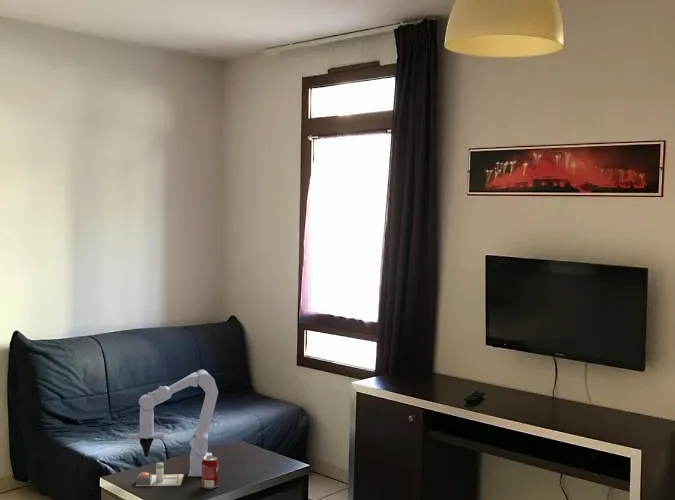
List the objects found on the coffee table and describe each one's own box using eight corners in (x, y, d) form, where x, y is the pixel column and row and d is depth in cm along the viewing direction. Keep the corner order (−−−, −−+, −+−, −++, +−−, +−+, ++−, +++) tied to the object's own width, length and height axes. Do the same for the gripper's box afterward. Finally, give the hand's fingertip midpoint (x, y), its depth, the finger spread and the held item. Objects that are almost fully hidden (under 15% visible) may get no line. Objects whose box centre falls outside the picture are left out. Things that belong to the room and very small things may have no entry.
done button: (149, 480, 316) (149, 472, 316) (148, 483, 312) (148, 475, 312) (140, 480, 315) (140, 472, 315) (139, 483, 312) (139, 475, 312)
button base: (151, 480, 317) (151, 473, 317) (149, 485, 312) (149, 478, 311) (139, 481, 316) (139, 473, 316) (136, 485, 311) (137, 478, 311)
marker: (163, 480, 318) (163, 462, 317) (163, 482, 315) (163, 464, 314) (156, 480, 317) (156, 462, 317) (155, 483, 314) (155, 465, 314)
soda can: (214, 490, 308) (214, 461, 307) (198, 488, 309) (199, 459, 309) (220, 484, 314) (220, 456, 314) (205, 483, 316) (205, 454, 315)
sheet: (183, 474, 325) (183, 474, 325) (180, 485, 312) (180, 484, 312) (141, 475, 323) (140, 474, 323) (135, 486, 311) (135, 485, 311)
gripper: (165, 421, 323) (165, 452, 323) (130, 421, 321) (130, 453, 322) (163, 425, 316) (163, 458, 316) (127, 426, 314) (127, 458, 315)
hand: (146, 456), depth 319 cm, fingers closed
